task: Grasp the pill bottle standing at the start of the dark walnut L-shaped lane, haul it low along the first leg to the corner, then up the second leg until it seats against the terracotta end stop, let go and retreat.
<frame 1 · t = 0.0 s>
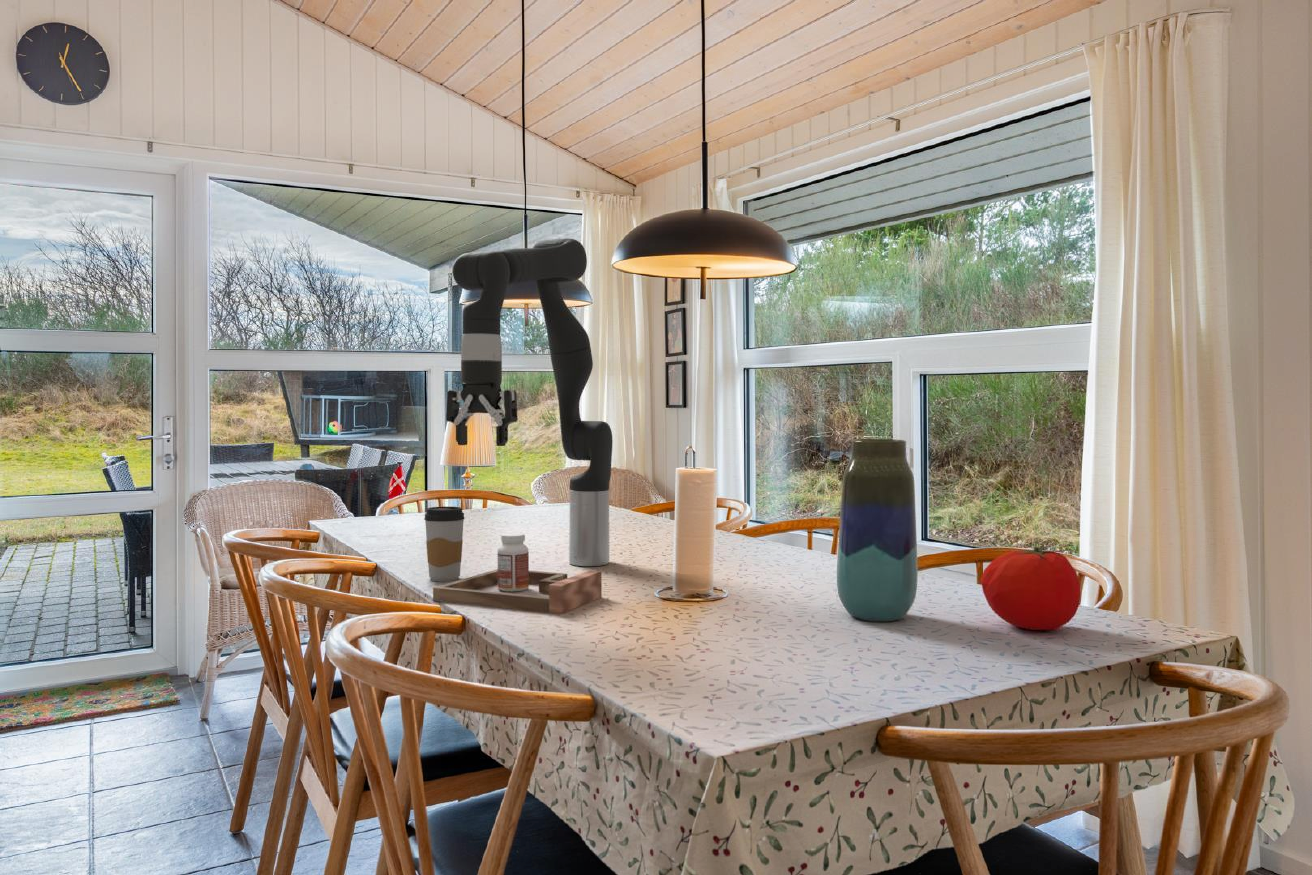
hand: (481, 445, 177), 29 cm above the table, fingers open, 8 cm apart
pill bottle: (513, 590, 188), resting in lane
lane: (514, 598, 180), on the table
vase: (876, 617, 166), on the table
tomato: (1028, 629, 158), on the table
coffee cup: (444, 579, 199), on the table
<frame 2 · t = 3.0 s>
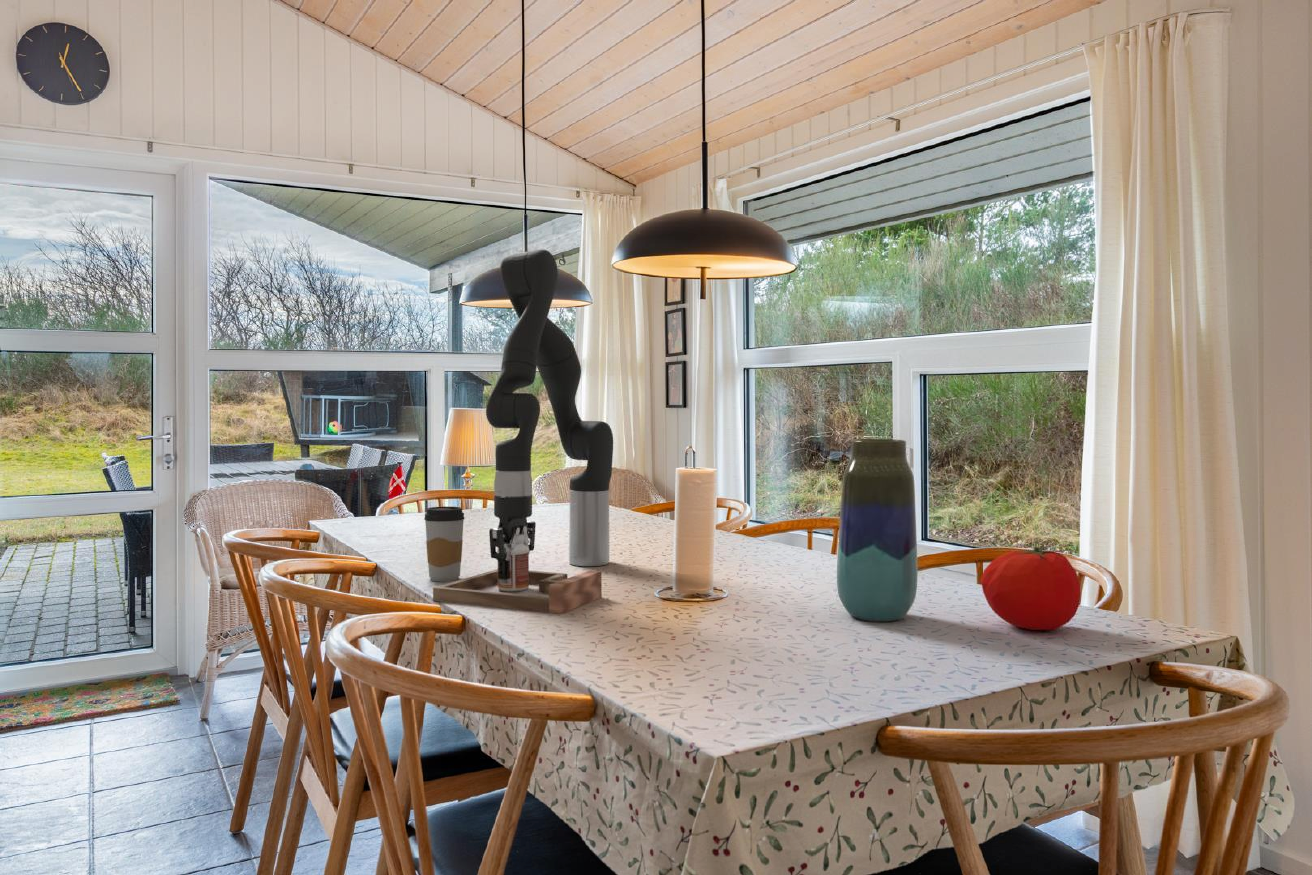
hand: (513, 576, 188), 3 cm above the table, fingers closed on pill bottle, 6 cm apart
pill bottle: (513, 590, 188), resting in lane, touching gripper
everything else where it was.
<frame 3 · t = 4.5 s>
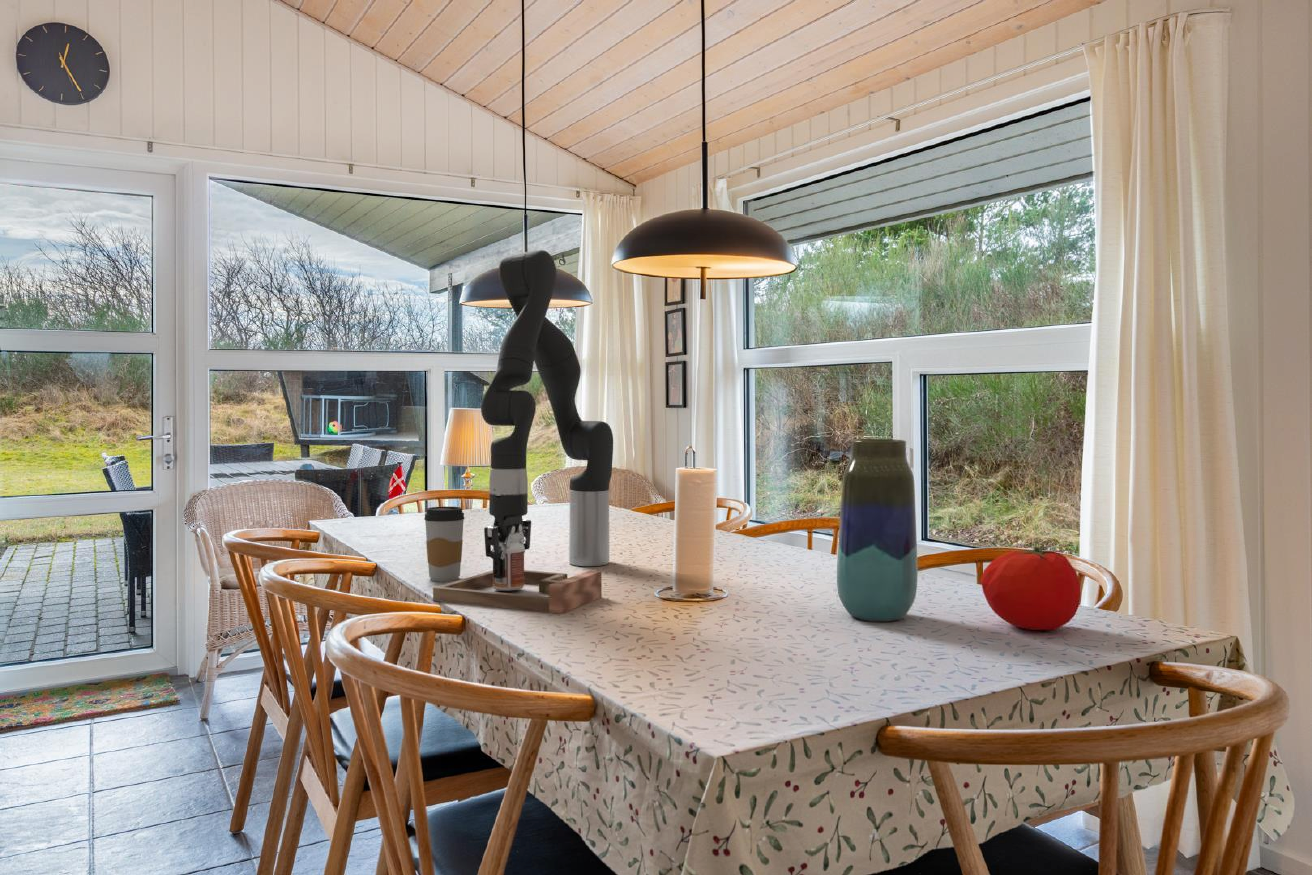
hand: (508, 574, 187), 3 cm above the table, fingers closed on pill bottle, 6 cm apart
pill bottle: (508, 589, 187), resting in lane, touching gripper
everything else where it was.
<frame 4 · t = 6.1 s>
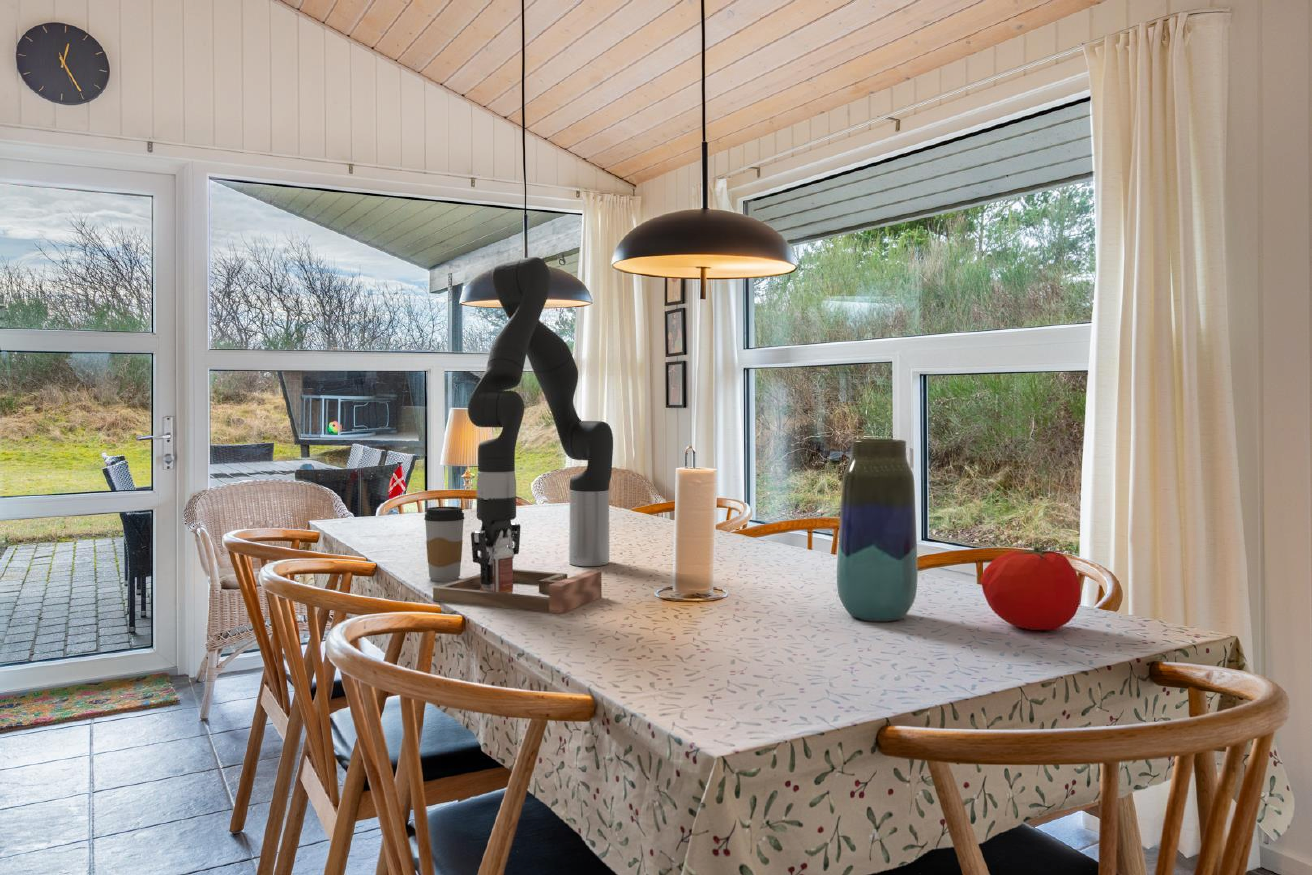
hand: (496, 580, 181), 3 cm above the table, fingers closed on pill bottle, 6 cm apart
pill bottle: (496, 595, 181), resting in lane, touching gripper
everything else where it was.
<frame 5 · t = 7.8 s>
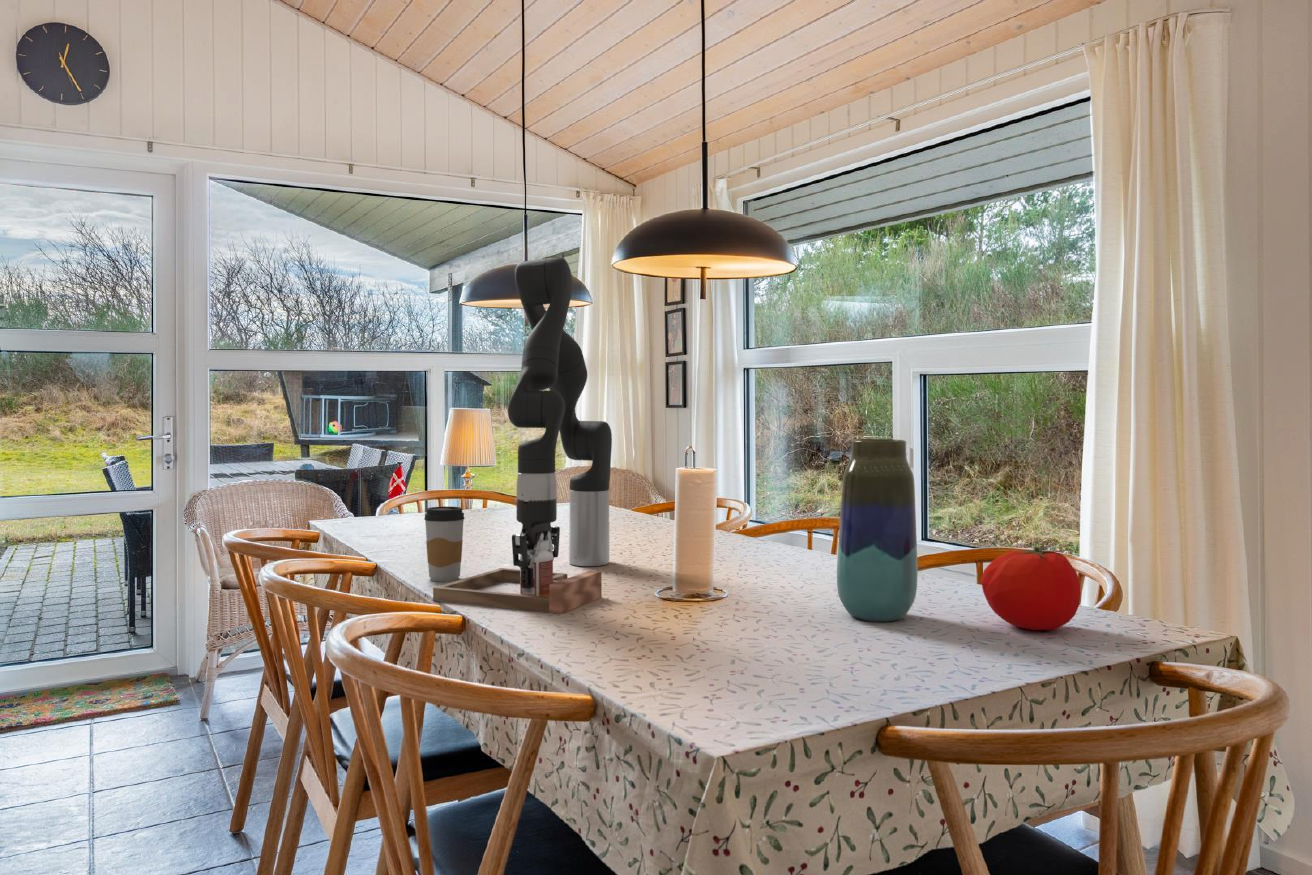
hand: (536, 584, 178), 3 cm above the table, fingers closed on pill bottle, 6 cm apart
pill bottle: (536, 599, 178), resting in lane, touching gripper
everything else where it was.
when the fingers open (3 cm above the table, at t = 9.5 s): pill bottle stays where it is, resting in lane.
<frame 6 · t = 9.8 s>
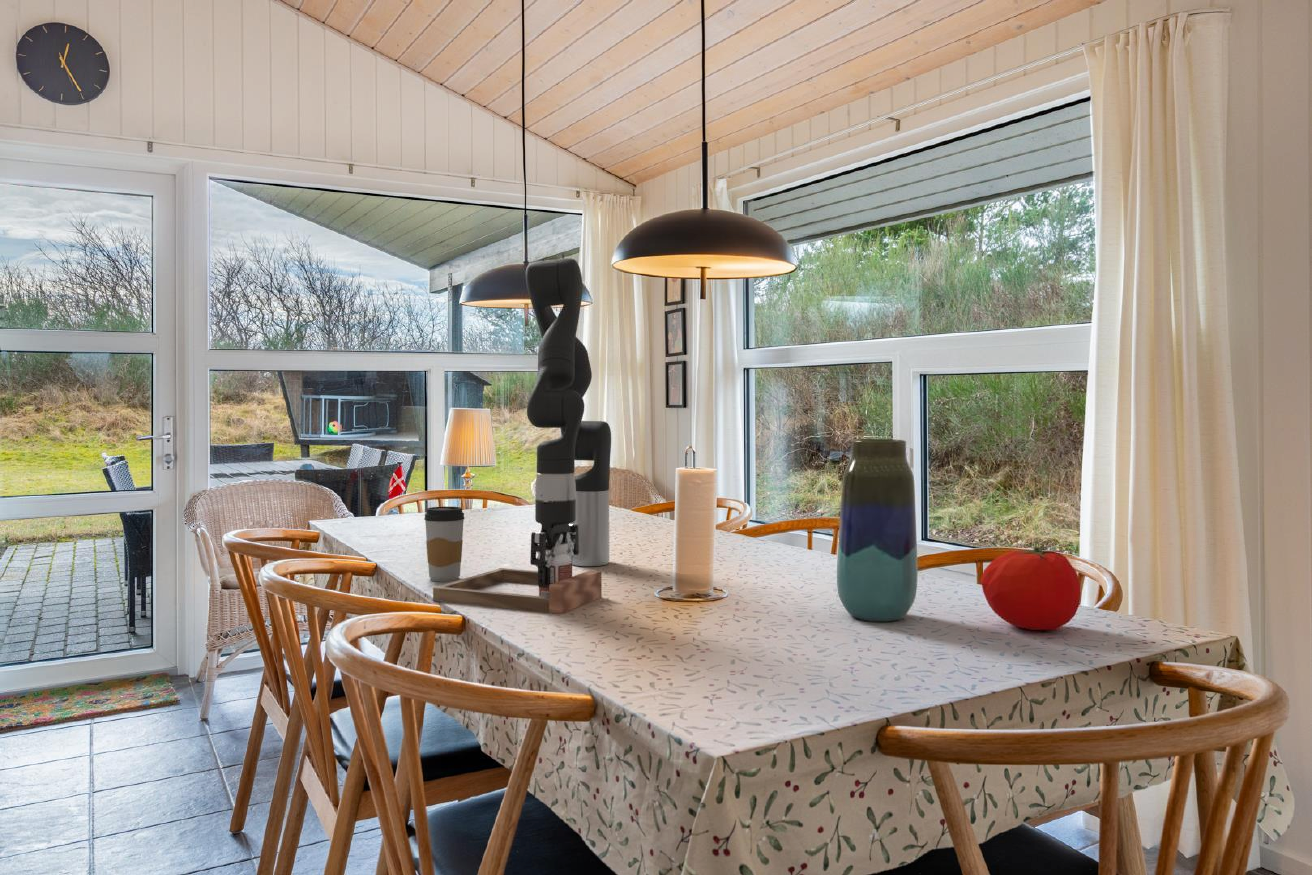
hand: (555, 583, 176), 4 cm above the table, fingers open, 8 cm apart
pill bottle: (555, 603, 176), resting in lane
everything else where it was.
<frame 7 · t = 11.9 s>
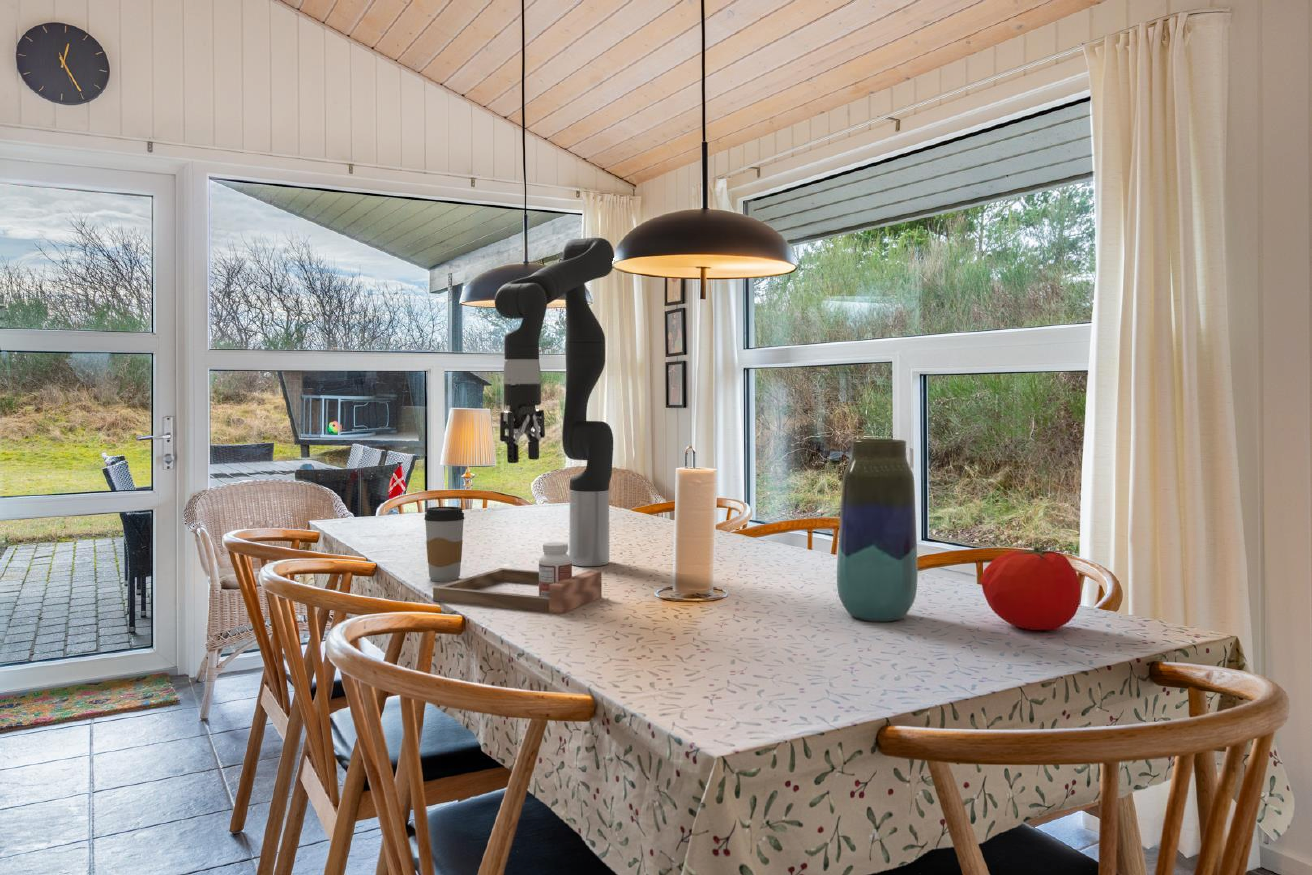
hand: (523, 461, 193), 25 cm above the table, fingers open, 8 cm apart
nothing on the table moved.
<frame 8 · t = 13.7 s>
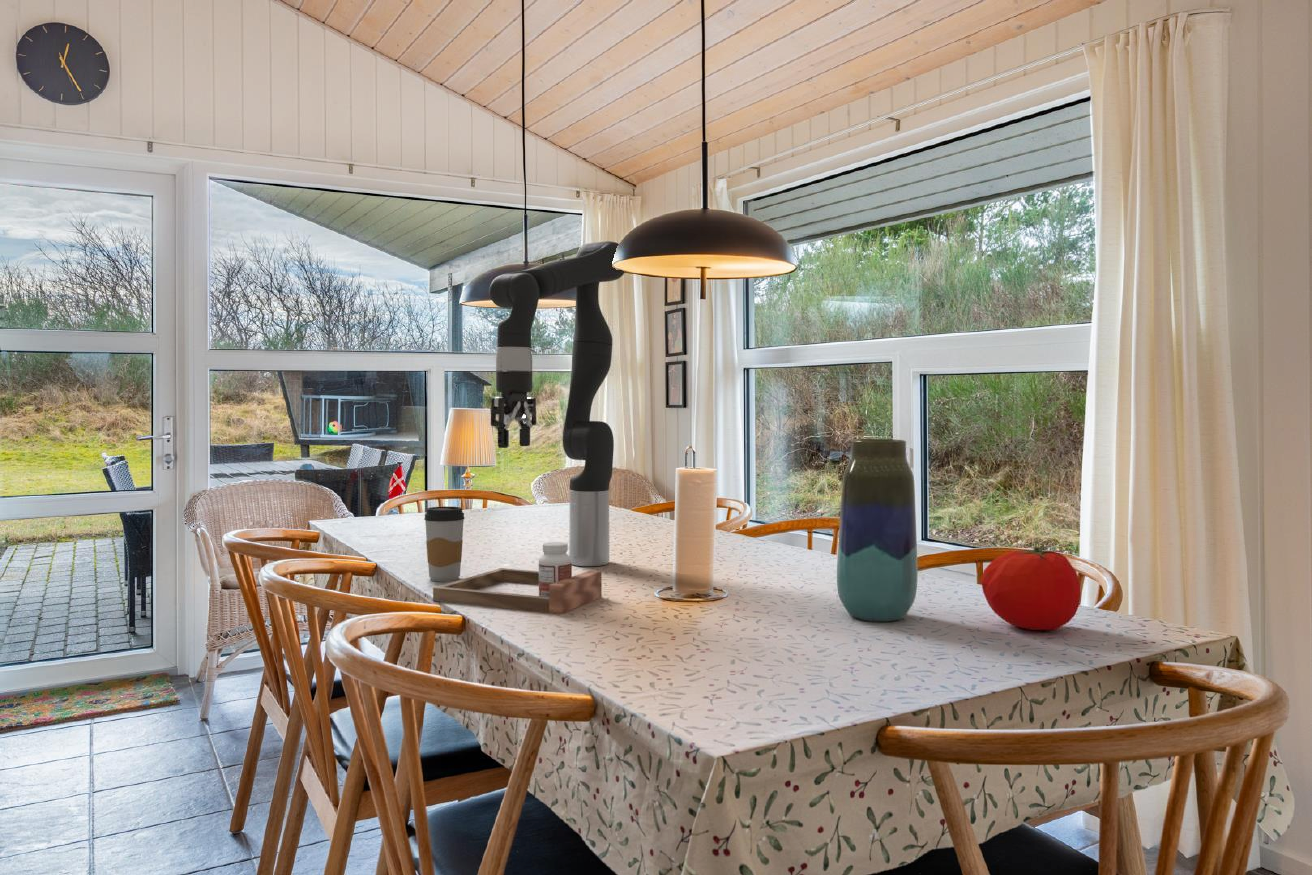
hand: (514, 447, 197), 28 cm above the table, fingers open, 8 cm apart
nothing on the table moved.
at the end: pill bottle inside the target area (0.3 cm from its centre), resting in lane; pill bottle tilted 0°; the gripper is holding nothing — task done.
